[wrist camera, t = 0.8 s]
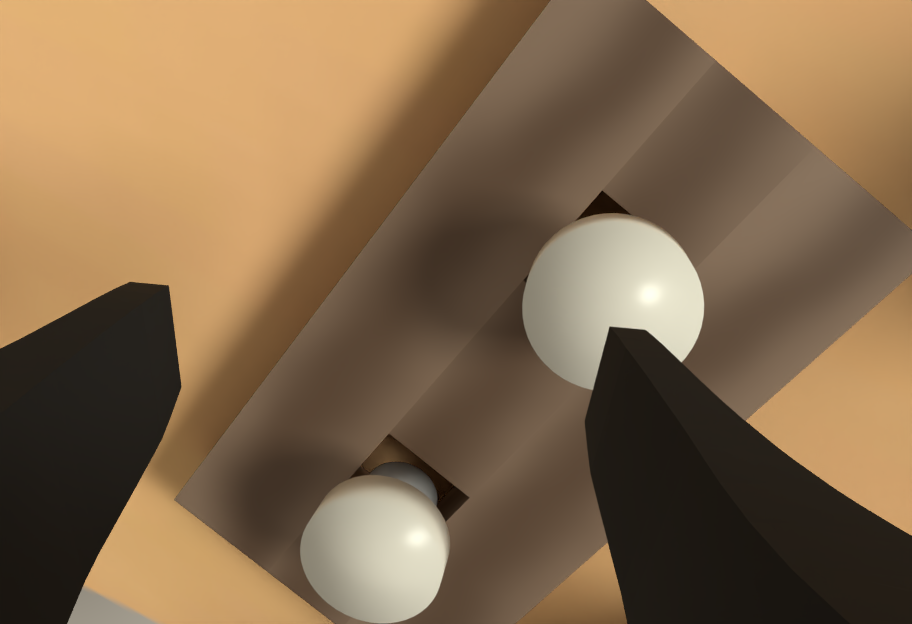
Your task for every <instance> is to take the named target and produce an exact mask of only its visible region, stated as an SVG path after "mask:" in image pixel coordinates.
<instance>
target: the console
mask: <svg viewBox="0 0 912 624" xmlns="http://www.w3.org/2000/svg"><path fill="white" fill-rule="evenodd" d="M602 190H603V191H604V192H605V193H606V194H607V195H609V196H610V197H611V198H612V199H613V200H614V201H616V202H617V203H618V204H619V205H620V206H622V207H623V208H624V209H625V210H626V211H628V212H629V213H630V214H631V215H633V216H637V217H640V218H643V219H645V220H648V221H650V222H652V223H654V224H656V225H658V226H659V227H661V228H662V229H664V230H665V231H666V232H668V233H669V234H670V235H671V236H672V237H673V238H674V239H675V240H676V241H677V242H678V243H679V245H680V246H681V247H682V249H683V250H684V252H685V253H686V255H687V257H688V258H689V260H690V262H691V263H692V265H693V267H694V269H695V270H696V272H697V275H698V277H699V280H700V283H701V287H702V291H703V298H704V316H703V321H702V326H701V330H700V333H699V335H698V338H697V340H696V342H695V344H694V346H693V348H692V349H691V351H690V352H689V354H688V355H687V357H686V358H685V359H684V360H683V361H682V363H683V364H684V365H685V366H686V367H687V368H688V369H689V370H690V371H691V372H692V373H693V374H694V375H695V376H696V377H697V378H698V379H699V380H700V381H701V382H702V383H704V384H705V385H706V386H707V387H708V388H709V389H710V390H711V391H712V392H713V393H714V394H715V395H716V396H718V397H719V398H720V399H721V400H722V401H723V402H724V403H725V404H726V405H728V406H729V407H730V408H731V409H732V410H733V411H734V412H736V413H737V414H738V415H739V416H740V417H741V418H742V419H744V420H745V421H746V420H747V419H748V418H749V417H750V416H751V415H752V414H753V413H755V412H756V411H757V410H758V409H759V408H760V407H761V406H763V405H764V404H765V403H766V402H767V401H768V400H769V399H770V398H772V397H773V396H774V395H775V394H776V393H777V392H778V391H780V390H781V389H782V388H783V387H784V386H785V385H786V384H787V383H789V382H790V381H791V380H792V379H793V378H794V377H795V376H797V375H798V374H799V373H800V372H801V371H802V370H803V369H804V368H806V367H807V366H808V365H809V364H810V363H811V362H812V361H814V360H815V359H816V358H817V357H818V356H819V355H820V354H821V353H823V352H824V351H825V350H826V349H827V348H828V347H829V346H830V345H832V344H833V343H834V342H835V341H836V340H837V339H838V338H840V337H841V336H842V335H843V334H844V333H845V332H846V331H847V330H849V329H850V328H851V327H852V326H853V325H854V324H855V323H857V322H858V321H859V320H860V319H861V318H862V317H863V316H864V315H866V314H867V313H868V312H869V311H870V310H871V309H872V308H874V307H875V306H876V305H877V304H878V303H879V302H880V301H881V300H883V299H884V298H885V297H886V296H887V295H888V294H889V293H891V292H892V291H893V290H894V289H895V288H896V287H897V286H898V285H900V284H901V283H902V282H903V281H904V280H905V279H906V278H908V277H909V276H910V275H911V274H912V230H911V229H910V228H909V227H908V226H906V225H905V224H904V223H903V222H902V221H901V220H899V219H898V218H897V217H896V216H895V215H894V214H893V213H891V212H890V211H889V210H888V209H887V208H886V207H884V206H883V205H882V204H881V203H880V202H879V201H877V200H876V199H875V198H874V197H873V196H872V195H871V194H869V193H868V192H867V191H866V190H865V189H864V188H862V187H861V186H860V185H859V184H858V183H857V182H856V181H854V180H853V179H852V178H851V177H850V176H849V175H847V174H846V173H845V172H844V171H843V170H842V169H841V168H839V167H838V166H837V165H836V164H835V163H834V162H832V161H831V160H830V159H829V158H828V157H827V156H825V155H824V154H823V153H822V152H821V151H820V150H819V149H817V148H816V147H815V146H814V145H813V144H812V143H810V142H809V141H808V140H807V139H806V138H805V137H804V136H802V135H801V134H800V133H799V132H798V131H797V130H795V129H794V128H793V127H792V126H791V125H790V124H789V123H787V122H786V121H785V120H784V119H783V118H782V117H780V116H779V115H778V114H777V113H776V112H775V111H773V110H772V109H771V108H770V107H769V106H768V105H767V104H765V103H764V102H763V101H762V100H761V99H760V98H758V97H757V96H756V95H755V94H754V93H753V92H752V91H750V90H749V89H748V88H747V87H746V86H745V85H743V84H742V83H741V82H740V81H739V80H738V79H737V78H735V77H734V76H733V75H732V74H731V73H730V72H728V71H727V70H726V69H725V68H724V67H723V66H722V65H720V64H719V63H718V62H717V61H716V60H715V59H713V58H712V57H711V56H710V55H709V54H708V53H706V52H705V51H704V50H703V49H702V48H701V47H700V46H698V45H697V44H696V43H695V42H694V41H693V40H691V39H690V38H689V37H688V36H687V35H686V34H685V33H683V32H682V31H681V30H680V29H679V28H678V27H676V26H675V25H674V24H673V23H672V22H671V21H670V20H668V19H667V18H666V17H665V16H664V15H663V14H661V13H660V12H659V11H658V10H657V9H656V8H654V7H653V6H652V5H651V4H650V3H649V2H648V1H646V0H550V2H549V3H548V4H547V6H546V7H545V8H544V10H543V11H542V12H541V14H540V15H539V16H538V18H537V19H536V20H535V22H534V23H533V24H532V26H531V27H530V28H529V30H528V31H527V32H526V34H525V35H524V36H523V38H522V39H521V40H520V42H519V43H518V44H517V46H516V47H515V48H514V50H513V51H512V52H511V53H510V55H509V56H508V57H507V59H506V60H505V61H504V63H503V64H502V65H501V67H500V68H499V69H498V71H497V72H496V73H495V75H494V76H493V77H492V79H491V80H490V81H489V83H488V84H487V85H486V87H485V88H484V89H483V91H482V92H481V93H480V95H479V96H478V97H477V99H476V100H475V101H474V103H473V104H472V105H471V107H470V108H469V109H468V111H467V112H466V113H465V114H464V116H463V117H462V118H461V120H460V121H459V122H458V124H457V125H456V126H455V128H454V129H453V130H452V132H451V133H450V134H449V136H448V137H447V138H446V140H445V141H444V142H443V144H442V145H441V146H440V148H439V149H438V150H437V152H436V153H435V154H434V156H433V157H432V158H431V160H430V161H429V162H428V164H427V165H426V166H425V168H424V169H423V170H422V172H421V173H420V174H419V175H418V177H417V178H416V179H415V181H414V182H413V183H412V185H411V186H410V187H409V189H408V190H407V191H406V193H405V194H404V195H403V197H402V198H401V199H400V201H399V202H398V203H397V205H396V206H395V207H394V209H393V210H392V211H391V213H390V214H389V215H388V217H387V218H386V219H385V221H384V222H383V223H382V225H381V226H380V227H379V229H378V230H377V231H376V233H375V234H374V235H373V236H372V238H371V239H370V240H369V242H368V243H367V244H366V246H365V247H364V248H363V250H362V251H361V252H360V254H359V255H358V256H357V258H356V259H355V260H354V262H353V263H352V264H351V266H350V267H349V268H348V270H347V271H346V272H345V274H344V275H343V276H342V278H341V279H340V280H339V282H338V283H337V284H336V286H335V287H334V288H333V290H332V291H331V292H330V294H329V295H328V296H327V297H326V299H325V300H324V301H323V303H322V304H321V305H320V307H319V308H318V309H317V311H316V312H315V313H314V315H313V316H312V317H311V319H310V320H309V321H308V323H307V324H306V325H305V327H304V328H303V329H302V331H301V332H300V333H299V335H298V336H297V337H296V339H295V340H294V341H293V343H292V344H291V345H290V347H289V348H288V349H287V351H286V352H285V353H284V355H283V356H282V357H281V358H280V360H279V361H278V362H277V364H276V365H275V366H274V368H273V369H272V370H271V372H270V373H269V374H268V376H267V377H266V378H265V380H264V381H263V382H262V384H261V385H260V386H259V388H258V389H257V390H256V392H255V393H254V394H253V396H252V397H251V398H250V400H249V401H248V402H247V404H246V405H245V406H244V408H243V409H242V410H241V412H240V413H239V414H238V416H237V417H236V418H235V419H234V421H233V422H232V423H231V425H230V426H229V427H228V429H227V430H226V431H225V433H224V434H223V435H222V437H221V438H220V439H219V441H218V442H217V443H216V445H215V446H214V447H213V449H212V450H211V451H210V453H209V454H208V455H207V457H206V458H205V459H204V461H203V462H202V463H201V465H200V466H199V467H198V469H197V470H196V471H195V473H194V474H193V475H192V477H191V478H190V479H189V480H188V482H187V483H186V484H185V486H184V487H183V488H182V490H181V491H180V492H179V494H178V495H177V496H176V498H175V499H174V500H175V501H176V502H178V503H179V504H180V505H181V506H183V507H184V508H185V509H187V510H188V511H189V512H191V513H192V514H193V515H194V516H196V517H197V518H198V519H200V520H201V521H202V522H204V523H205V524H206V525H207V526H209V527H210V528H211V529H213V530H214V531H215V532H217V533H218V534H219V535H220V536H222V537H223V538H224V539H226V540H227V541H228V542H230V543H231V544H232V545H233V546H235V547H236V548H237V549H239V550H240V551H241V552H242V553H244V554H245V555H246V556H248V557H249V558H250V559H252V560H253V561H254V562H255V563H257V564H258V565H259V566H261V567H262V568H263V569H265V570H266V571H267V572H268V573H270V574H271V575H272V576H274V577H275V578H276V579H278V580H279V581H280V582H281V583H283V584H284V585H285V586H287V587H288V588H289V589H291V590H292V591H293V592H294V593H296V594H297V595H298V596H300V597H301V598H302V599H304V600H305V601H306V602H307V603H309V604H310V605H311V606H313V607H314V608H315V609H317V610H318V611H319V612H320V613H322V614H323V615H324V616H326V617H327V618H328V619H330V620H331V621H332V622H333V623H335V624H516V623H517V622H518V621H519V620H520V619H521V618H522V617H523V616H525V615H526V614H527V613H528V612H529V611H530V610H531V609H532V608H534V607H535V606H536V605H537V604H538V603H539V602H540V601H542V600H543V599H544V598H545V597H546V596H547V595H548V594H549V593H551V592H552V591H553V590H554V589H555V588H556V587H557V586H559V585H560V584H561V583H562V582H563V581H564V580H565V579H566V578H568V577H569V576H570V575H571V574H572V573H573V572H574V571H576V570H577V569H578V568H579V567H580V566H581V565H582V564H583V563H585V562H586V561H587V560H588V559H589V558H590V557H591V556H593V555H594V554H595V553H596V552H597V551H598V550H599V549H600V548H602V547H603V546H604V545H605V544H606V543H607V542H608V541H607V537H606V533H605V529H604V526H603V522H602V518H601V514H600V510H599V506H598V502H597V498H596V494H595V490H594V486H593V482H592V478H591V474H590V466H589V458H588V450H587V441H586V431H585V417H586V414H587V410H588V406H589V402H590V398H591V395H592V391H593V390H590V389H587V388H583V387H580V386H578V385H575V384H572V383H570V382H569V381H567V380H565V379H563V378H561V377H560V376H559V375H557V374H556V373H554V372H553V371H552V370H551V369H550V368H549V367H548V366H546V365H545V364H544V362H543V361H542V360H541V359H540V358H539V356H538V355H537V354H536V352H535V350H534V349H533V347H532V345H531V343H530V341H529V339H528V337H527V333H526V330H525V327H524V321H523V313H522V303H523V294H524V290H525V286H526V282H527V279H528V276H529V273H530V270H531V267H532V265H533V262H534V260H535V258H536V256H537V255H538V253H539V251H540V250H541V249H542V247H543V246H544V245H545V243H546V242H547V241H548V240H549V239H550V238H551V237H552V236H553V235H554V234H556V233H557V232H558V231H560V230H561V229H562V228H564V227H565V226H567V225H569V224H571V223H572V222H575V221H576V220H577V218H578V217H579V216H580V215H581V214H582V213H583V212H584V210H585V209H586V208H587V207H588V206H589V205H590V204H591V202H592V201H593V200H594V199H595V198H596V197H597V196H598V194H599V193H600V192H601V191H602ZM388 434H390V435H392V436H393V437H394V438H395V439H397V440H398V441H399V442H400V443H402V444H403V445H404V446H405V447H407V448H408V449H409V450H410V451H412V452H413V453H414V454H415V455H417V456H418V457H419V458H420V459H422V460H423V461H424V462H425V463H427V464H428V465H429V466H431V467H432V468H433V469H434V470H436V471H437V472H438V473H439V474H441V475H442V476H443V477H444V478H446V479H447V480H448V481H449V482H451V483H452V484H453V485H454V487H453V488H452V489H451V490H450V491H449V492H448V493H447V494H446V495H445V496H444V498H443V499H442V500H441V501H440V502H439V503H438V504H437V508H438V510H439V511H440V512H441V514H442V516H443V518H444V520H445V522H446V525H447V528H448V532H449V536H450V551H449V556H448V560H447V563H446V567H445V570H444V574H443V577H442V580H441V584H440V587H439V590H438V592H437V594H436V596H435V598H434V599H433V601H432V602H431V603H430V604H429V605H428V607H427V608H425V609H424V610H423V611H422V612H420V613H419V614H417V615H416V616H414V617H411V618H409V619H407V620H403V621H400V622H394V623H371V622H366V621H361V620H358V619H355V618H352V617H350V616H348V615H345V614H343V613H342V612H340V611H338V610H336V609H335V608H334V607H332V606H331V605H329V604H328V603H327V602H326V601H325V600H323V599H322V598H321V596H320V595H319V594H318V593H317V592H316V591H315V590H314V588H313V587H312V586H311V584H310V582H309V580H308V579H307V577H306V574H305V572H304V570H303V566H302V563H301V556H300V545H301V538H302V535H303V532H304V530H305V528H306V526H307V524H308V522H309V521H310V519H311V518H312V516H313V515H314V513H315V512H316V510H317V508H318V507H319V505H320V504H321V502H322V501H323V499H324V498H325V496H326V495H327V494H328V493H329V492H330V491H331V490H332V489H333V488H334V487H335V486H337V485H338V484H340V483H342V482H344V481H346V480H348V479H351V478H354V477H358V476H364V475H369V474H370V473H369V472H368V471H367V470H365V469H364V468H363V467H361V465H362V463H363V462H364V461H365V460H366V459H367V458H368V457H369V455H370V454H371V453H372V452H373V451H374V450H375V449H376V448H377V446H378V445H379V444H380V443H381V442H382V441H383V440H384V438H385V437H386V436H387V435H388Z"/></svg>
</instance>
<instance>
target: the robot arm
mask: <svg viewBox="0 0 912 624" xmlns="http://www.w3.org/2000/svg"><path fill="white" fill-rule="evenodd" d="M180 389H181V379H180V371H179V364H178V356H177V348H176V340H175V332H174V324H173V316H172V308H171V300H170V292H169V286H168V285H157V284H146V283H136V282H129V283H127V284H124V285H122V286H120V287H118V288H116V289H113V290H111V291H109V292H108V293H106V294H104V295H102V296H100V297H98V298H96V299H94V300H92V301H90V302H88V303H87V304H85V305H83V306H81V307H79V308H77V309H75V310H74V311H72V312H70V313H68V314H66V315H64V316H62V317H61V318H59V319H57V320H55V321H53V322H51V323H49V324H47V325H46V326H44V327H42V328H40V329H38V330H36V331H34V332H32V333H31V334H29V335H27V336H25V337H23V338H21V339H19V340H17V341H15V342H13V343H11V344H9V345H7V346H5V347H3V348H1V349H0V624H67V622H68V620H69V618H70V615H71V613H72V611H73V608H74V606H75V604H76V601H77V599H78V596H79V594H80V592H81V589H82V587H83V585H84V582H85V580H86V578H87V576H88V574H89V572H90V570H91V568H92V566H93V564H94V562H95V560H96V558H97V556H98V554H99V552H100V550H101V549H102V547H103V545H104V543H105V542H106V540H107V538H108V536H109V534H110V533H111V531H112V529H113V527H114V525H115V524H116V522H117V520H118V518H119V516H120V515H121V513H122V511H123V509H124V507H125V506H126V504H127V502H128V500H129V498H130V497H131V495H132V493H133V491H134V489H135V488H136V486H137V484H138V482H139V480H140V479H141V477H142V475H143V473H144V471H145V469H146V468H147V466H148V464H149V462H150V460H151V458H152V457H153V455H154V453H155V451H156V449H157V447H158V445H159V443H160V442H161V440H162V438H163V435H164V432H165V430H166V427H167V425H168V422H169V420H170V417H171V415H172V412H173V409H174V406H175V403H176V401H177V398H178V395H179V392H180ZM585 431H586V441H587V450H588V458H589V466H590V474H591V478H592V482H593V486H594V490H595V494H596V498H597V502H598V506H599V510H600V514H601V518H602V522H603V526H604V529H605V533H606V537H607V541H608V545H609V549H610V552H611V556H612V560H613V564H614V568H615V572H616V575H617V579H618V583H619V587H620V591H621V595H622V600H623V605H624V609H625V614H626V619H627V624H912V536H911V535H909V534H908V533H906V532H904V531H902V530H901V529H899V528H897V527H896V526H894V525H892V524H891V523H889V522H887V521H886V520H884V519H882V518H881V517H879V516H877V515H876V514H874V513H872V512H871V511H869V510H867V509H866V508H864V507H863V506H861V505H859V504H858V503H856V502H854V501H853V500H851V499H850V498H848V497H847V496H845V495H844V494H842V493H841V492H839V491H837V490H836V489H834V488H833V487H831V486H830V485H829V484H827V483H826V482H824V481H823V480H822V479H820V478H819V477H817V476H816V475H815V474H813V473H812V472H810V471H809V470H807V469H806V468H805V467H803V466H802V465H800V464H799V463H798V462H796V461H795V460H793V459H792V458H791V457H789V456H788V455H787V454H785V453H784V452H783V451H782V450H780V449H779V448H778V447H776V446H775V445H774V444H773V443H771V442H770V441H769V440H768V439H767V438H765V437H764V436H763V435H762V434H760V433H759V432H758V431H757V430H756V429H754V428H753V427H752V426H751V425H750V424H748V423H747V422H746V421H745V420H744V419H742V418H741V417H740V416H739V415H738V414H737V413H736V412H734V411H733V410H732V409H731V408H730V407H729V406H728V405H726V404H725V403H724V402H723V401H722V400H721V399H720V398H719V397H718V396H716V395H715V394H714V393H713V392H712V391H711V390H710V389H709V388H708V387H707V386H706V385H705V384H704V383H702V382H701V381H700V380H699V379H698V378H697V377H696V376H695V375H694V374H693V373H692V372H691V371H690V370H689V369H688V368H687V367H686V366H685V365H684V364H683V363H682V362H680V361H679V360H678V359H677V358H676V357H675V356H674V355H673V354H672V353H671V352H670V351H669V350H668V349H667V348H666V347H665V346H664V345H663V344H662V343H660V342H659V341H658V340H657V339H656V338H655V337H654V336H653V335H651V334H650V333H649V332H648V331H647V330H643V329H632V328H622V327H611V326H610V327H609V330H608V334H607V338H606V342H605V346H604V349H603V353H602V357H601V361H600V364H599V368H598V372H597V376H596V380H595V383H594V387H593V391H592V395H591V398H590V402H589V406H588V410H587V414H586V417H585Z"/></svg>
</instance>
